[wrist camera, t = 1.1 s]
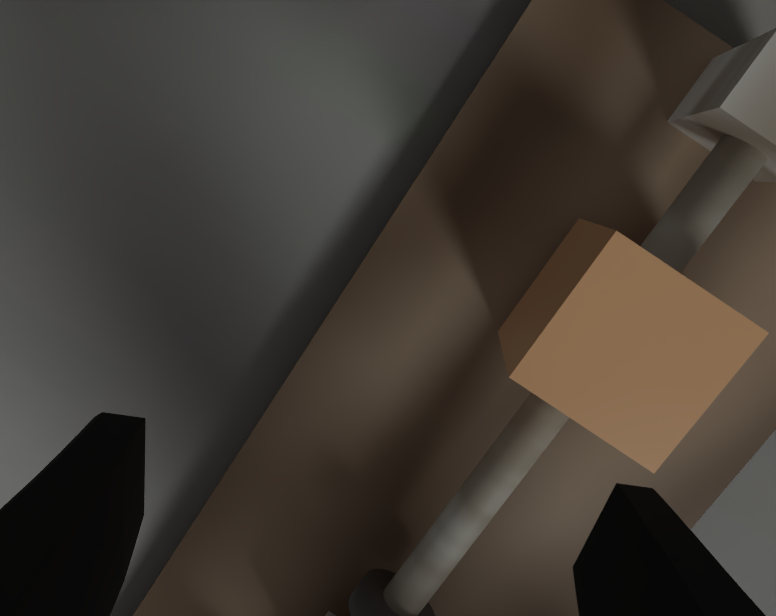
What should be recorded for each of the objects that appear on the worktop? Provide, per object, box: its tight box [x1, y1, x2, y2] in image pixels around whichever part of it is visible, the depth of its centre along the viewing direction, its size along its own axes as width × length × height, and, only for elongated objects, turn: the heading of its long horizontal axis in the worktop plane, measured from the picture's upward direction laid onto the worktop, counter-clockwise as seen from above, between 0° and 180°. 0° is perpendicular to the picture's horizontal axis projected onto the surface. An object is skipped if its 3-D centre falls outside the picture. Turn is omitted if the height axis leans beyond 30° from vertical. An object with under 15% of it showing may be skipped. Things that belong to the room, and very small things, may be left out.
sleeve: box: [498, 218, 769, 473], centre depth 18 cm, size 4×4×5 cm
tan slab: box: [133, 0, 776, 616], centre depth 20 cm, size 13×28×5 cm, turn 147°
